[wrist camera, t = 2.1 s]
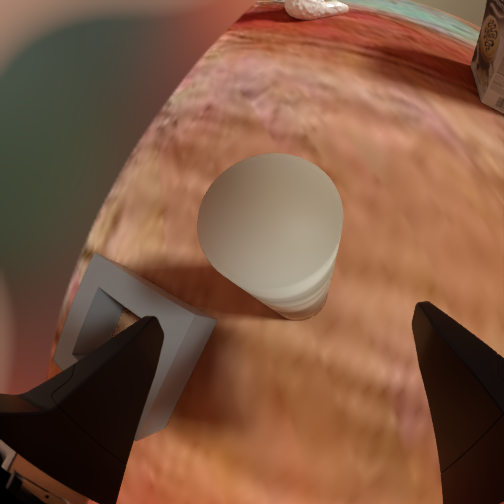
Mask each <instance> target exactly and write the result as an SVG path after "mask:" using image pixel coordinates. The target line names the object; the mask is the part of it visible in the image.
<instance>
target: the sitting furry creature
mask: <svg viewBox="0 0 504 504" xmlns="http://www.w3.org/2000/svg"><path fill="white" fill-rule="evenodd" d="M284 6H285V7H284V8H285V10H286V12H287V13H288V14H289V15H290V16H292V17H294V18H297V19H301V20H312V19H317V18H324V17H329V16H335V15H342V14H345V13H347V12H348V10H349V9H348V6H347V5H346V4H344V3H341V2H338V1H336V0H334V1H330V2H325V1H324V0H285V5H284Z"/></svg>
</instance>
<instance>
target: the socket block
mask: <svg viewBox="0 0 504 504" xmlns="http://www.w3.org/2000/svg"><path fill="white" fill-rule="evenodd" d="M124 307H126V308H128V309H129V310H130V311H132V312H133V313H135V314H136V315H137V316H139V317H140V318H143V317H144V316H156V317H157V318H158V320H159V323H160V325H161V327H162V329H163V331H164V342H163V346H162V350H161V354H160V358H159V362H158V367H157V371H156V374H155V377H154V380H153V383H152V386H151V389H150V392H149V395H148V398H147V401H146V404H145V407H144V410H143V413H142V416H141V419H140V422H139V425H138V429H137V432H136V435H135V438H134V440H135V441H138V440H140V439H142V438H145V437H147V436H149V435H151V434H154V433H156V432H158V431H160V430H162V429H164V428H165V427H166V425H167V423H168V421H169V419H170V417H171V415H172V413H173V411H174V409H175V407H176V404H177V402H178V400H179V398H180V396H181V394H182V392H183V390H184V388H185V386H186V384H187V382H188V380H189V378H190V376H191V374H192V372H193V370H194V368H195V366H196V364H197V362H198V360H199V358H200V356H201V354H202V352H203V350H204V348H205V345H206V343H207V341H208V339H209V337H210V335H211V333H212V331H213V329H214V327H215V325H216V323H217V321H218V320H217V319H215V318H213V317H211V316H209V315H208V314H206V313H204V312H202V311H200V310H198V309H197V308H195V307H193V306H191V305H189V304H188V303H186V302H184V301H182V300H181V299H179V298H177V297H175V296H174V295H172V294H170V293H168V292H167V291H165V290H163V289H162V288H160V287H158V286H156V285H155V284H153V283H151V282H150V281H148V280H146V279H145V278H143V277H142V276H140V275H138V274H137V273H135V272H133V271H132V270H130V269H129V268H127V267H125V266H124V265H121V264H119V263H117V262H115V261H113V260H110V259H108V258H106V257H104V256H102V255H100V254H98V253H94V255H93V257H92V259H91V261H90V264H89V266H88V268H87V270H86V272H85V275H84V277H83V279H82V281H81V284H80V286H79V288H78V291H77V293H76V296H75V298H74V301H73V303H72V306H71V308H70V311H69V313H68V316H67V319H66V321H65V324H64V327H63V330H62V333H61V336H60V338H59V341H58V345H57V348H56V351H55V354H54V357H53V360H54V362H55V363H56V364H57V365H58V366H59V368H60V369H61V370H62V371H64V370H65V369H67V368H68V367H70V366H71V365H73V364H74V363H76V362H77V361H79V360H80V359H82V358H83V357H85V356H86V355H88V354H89V353H91V352H92V351H94V350H95V349H97V348H98V347H100V346H101V345H103V344H104V343H106V342H107V341H108V340H110V339H111V337H112V334H113V332H114V330H115V327H116V325H117V323H118V320H119V318H120V316H121V314H122V311H123V309H124Z"/></svg>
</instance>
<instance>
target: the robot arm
mask: <svg viewBox="0 0 504 504" xmlns="http://www.w3.org/2000/svg"><path fill="white" fill-rule="evenodd" d="M412 330H413V335H414V340H415V345H416V351H417V357H418V363H419V367H420V372H421V375H422V379H423V383H424V387H425V391H426V395H427V399H428V403H429V408H430V412H431V417H432V422H433V427H434V432H435V438H436V443H437V450H438V456H439V464H440V472H441V473H442V474H441V482H442V494H443V504H504V358H503V357H502V356H501V355H499V354H498V355H497V352H496V351H494V350H493V349H492V348H490V347H489V346H488V345H487V344H485V343H484V342H483V341H482V340H480V339H479V338H478V337H476V336H475V335H474V334H472V333H471V332H470V331H468V330H467V329H466V328H464V327H463V326H462V325H460V324H459V323H458V322H456V321H455V320H454V319H452V318H451V317H450V316H448V315H447V314H445V313H444V312H443V311H441V310H440V309H438V308H437V307H436V306H434V305H433V304H431V303H430V302H428V301H424V302H418V303H417V304H416V306H415V311H414V315H413V319H412ZM163 342H164V331H163V329H162V327H161V325H160V323H159V320H158V318H157V317H156V316H144V317H143V318H141V319H140V320H138V321H137V322H135V323H134V324H132V325H131V326H129V327H128V328H126V329H125V330H123V331H122V332H120V333H119V334H117V335H116V336H114V337H113V338H111V339H110V340H108V341H107V342H106V343H104V344H103V345H101V346H100V347H98V348H97V349H95V350H94V351H92V352H91V353H89V354H88V355H86V356H85V357H83V358H82V359H80V360H79V361H77V362H76V363H74V364H73V365H71V366H70V367H68V368H67V369H65V370H64V371H62V372H61V373H59V374H58V375H56V376H54V377H53V378H51V379H49V380H47V381H46V382H44V383H42V384H41V385H39V386H37V387H35V388H33V389H32V390H30V391H28V392H26V393H23V394H19V395H9V394H0V504H88V501H89V499H91V500H93V501H95V502H97V503H99V504H116V502H117V498H118V494H119V491H120V487H121V483H122V480H123V476H124V472H125V469H126V465H127V462H128V458H129V455H130V451H131V448H132V445H133V441H134V438H135V435H136V432H137V429H138V425H139V422H140V419H141V416H142V413H143V410H144V407H145V404H146V401H147V398H148V395H149V392H150V389H151V386H152V383H153V380H154V377H155V374H156V371H157V367H158V362H159V358H160V354H161V350H162V346H163Z"/></svg>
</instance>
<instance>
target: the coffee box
mask: <svg viewBox="0 0 504 504" xmlns="http://www.w3.org/2000/svg"><path fill="white" fill-rule="evenodd" d="M470 66H471V69H472V72H473V75H474V79H475V82H476V85H477V89H478V93H479V97H480V101H481V102H482V103H483V104H485V105H487V106H489V107H491V108H493V109H495V110H497V111H499V112H501V113H503V114H504V0H487V3H486V9H485V14H484V18H483V22H482V26H481V30H480V34H479V37H478V41H477V45H476V48H475V52H474V55H473V58H472V61H471V65H470Z"/></svg>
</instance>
